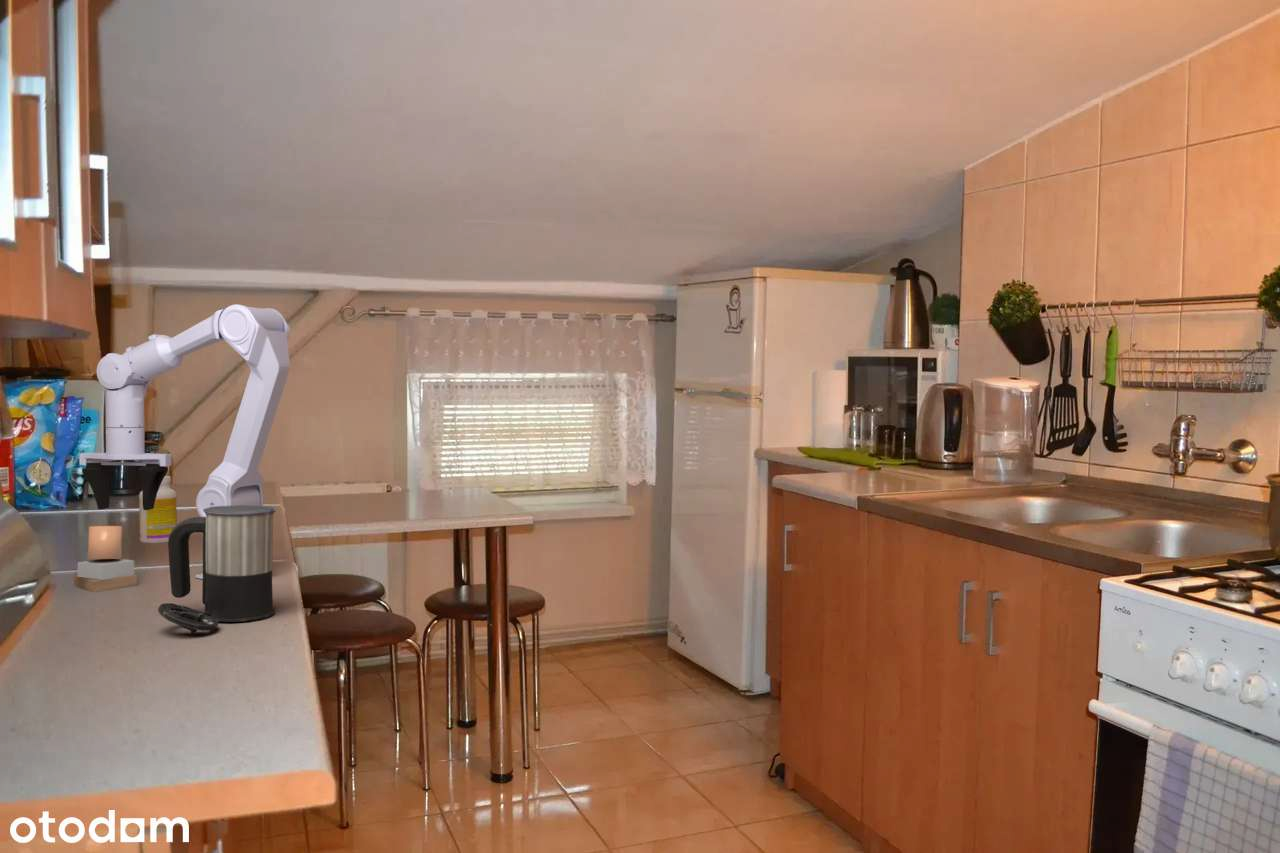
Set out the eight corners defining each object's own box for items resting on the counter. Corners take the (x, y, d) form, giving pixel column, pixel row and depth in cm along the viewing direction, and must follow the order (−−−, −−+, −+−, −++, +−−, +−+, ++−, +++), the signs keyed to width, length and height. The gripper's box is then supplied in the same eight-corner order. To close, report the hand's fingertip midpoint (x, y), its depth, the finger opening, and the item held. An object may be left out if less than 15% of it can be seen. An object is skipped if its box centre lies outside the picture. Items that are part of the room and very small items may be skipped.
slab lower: (137, 589, 159) (137, 575, 159) (94, 596, 154) (94, 581, 154) (116, 584, 163) (116, 570, 163) (73, 590, 158) (73, 576, 158)
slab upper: (133, 574, 160) (134, 560, 160) (102, 580, 155) (102, 565, 155) (109, 571, 162) (109, 557, 162) (77, 576, 157) (77, 562, 157)
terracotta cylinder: (124, 558, 158) (125, 525, 159) (90, 559, 155) (91, 526, 156) (117, 558, 162) (118, 526, 162) (85, 559, 159) (86, 527, 160)
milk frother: (275, 606, 146) (275, 503, 146) (277, 632, 131) (276, 517, 131) (166, 613, 141) (165, 506, 141) (154, 640, 127) (153, 521, 126)
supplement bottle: (184, 541, 203) (183, 476, 202) (152, 545, 197) (152, 478, 196) (163, 538, 206) (163, 474, 206) (132, 542, 201) (131, 476, 200)
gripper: (179, 426, 173) (180, 506, 174) (96, 425, 174) (96, 505, 175) (158, 428, 166) (159, 512, 167) (71, 427, 167) (72, 510, 168)
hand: (125, 509), depth 170 cm, fingers open, 7 cm apart
